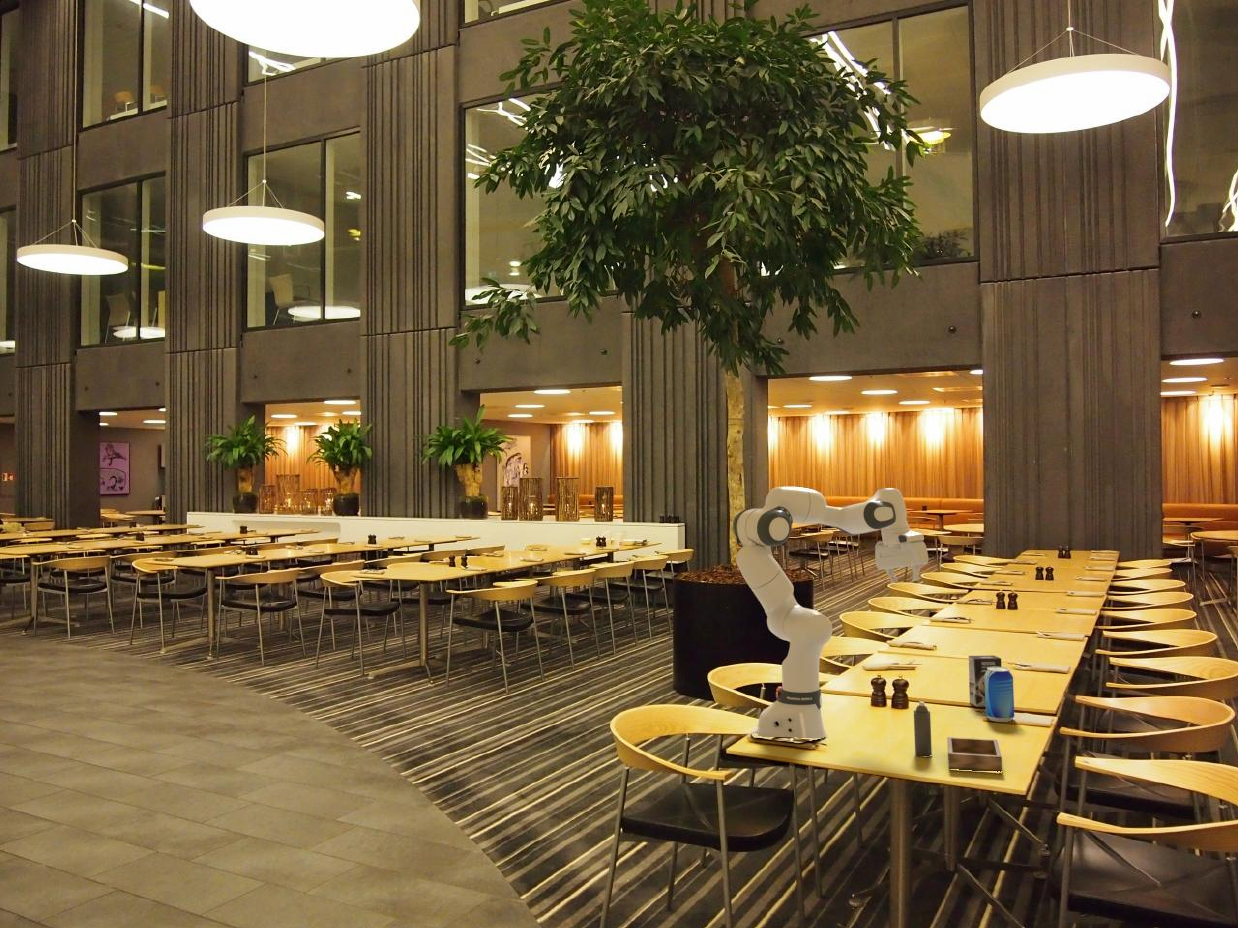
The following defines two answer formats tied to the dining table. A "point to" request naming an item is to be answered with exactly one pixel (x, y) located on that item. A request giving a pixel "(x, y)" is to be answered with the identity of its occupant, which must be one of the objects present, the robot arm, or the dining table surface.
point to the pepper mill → (922, 730)
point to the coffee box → (980, 677)
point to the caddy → (974, 754)
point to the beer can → (999, 694)
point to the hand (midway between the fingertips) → (905, 581)
